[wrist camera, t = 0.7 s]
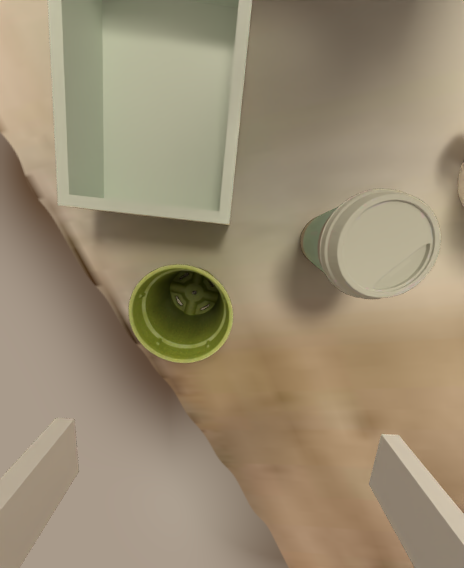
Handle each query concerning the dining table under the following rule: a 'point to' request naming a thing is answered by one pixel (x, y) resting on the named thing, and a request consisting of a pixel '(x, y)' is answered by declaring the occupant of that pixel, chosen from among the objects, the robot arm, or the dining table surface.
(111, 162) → the box
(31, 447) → the robot arm
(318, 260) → the coffee cup
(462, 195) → the mug
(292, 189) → the dining table surface
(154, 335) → the plant pot
